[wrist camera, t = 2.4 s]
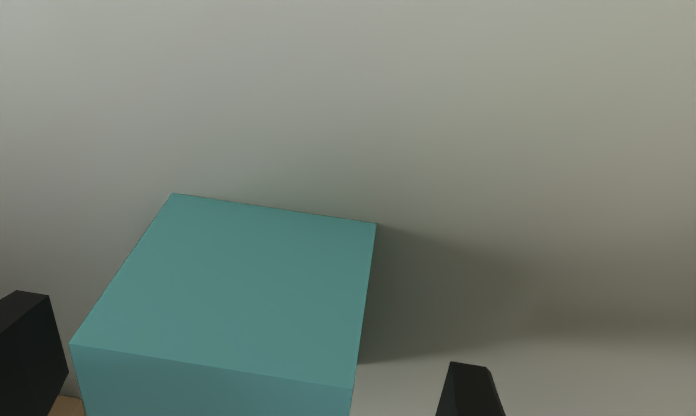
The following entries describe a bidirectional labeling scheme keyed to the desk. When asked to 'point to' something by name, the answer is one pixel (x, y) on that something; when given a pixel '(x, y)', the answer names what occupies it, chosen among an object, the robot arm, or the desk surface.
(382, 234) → the desk surface
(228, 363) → the teal block
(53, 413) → the walnut block
